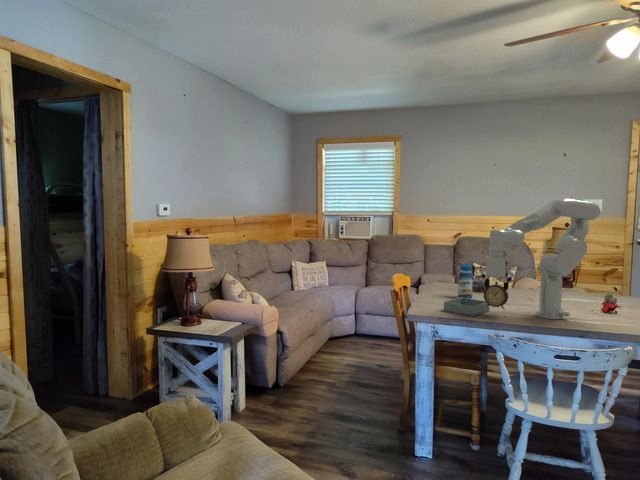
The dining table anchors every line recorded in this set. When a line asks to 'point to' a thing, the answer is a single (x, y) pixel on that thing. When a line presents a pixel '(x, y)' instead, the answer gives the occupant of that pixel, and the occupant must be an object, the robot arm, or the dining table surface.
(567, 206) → the robot arm
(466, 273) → the beverage bottle
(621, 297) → the dining table surface
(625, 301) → the dining table surface
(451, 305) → the bin
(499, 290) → the alarm clock
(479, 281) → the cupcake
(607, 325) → the dining table surface
